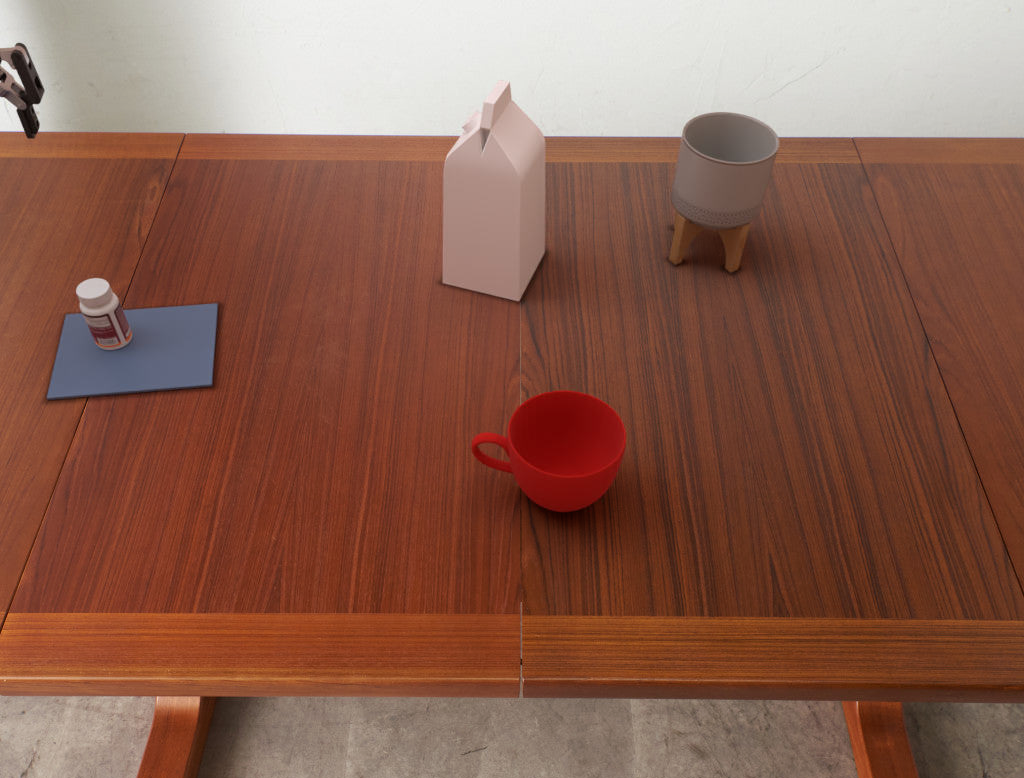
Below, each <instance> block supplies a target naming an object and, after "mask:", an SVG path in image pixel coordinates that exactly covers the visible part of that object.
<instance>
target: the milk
mask: <svg viewBox="0 0 1024 778" xmlns="http://www.w3.org/2000/svg"><path fill="white" fill-rule="evenodd" d="M461 128H462V129H463V132H462V133H461V135H460V136H459V138H458V139H457V140H456V141H455V143H454V144H453V146H452V147H451V149H450V150H449V151H448V153H447V154H446V157H445V160H444V163H443V170H442V171H443V172H442V174H443V175H442V284H445V285H448V286H453V287H456V288H460V289H465V290H470V291H473V292H478V293H482V294H485V295H490V296H494V297H498V298H503V299H507V300H511V301H515V302H520V301H521V298H522V297H523V295H524V293H525V291H526V290H527V287H528V285H529V284H530V281H531V280H532V278H533V277H534V274H535V272H536V270H537V268H538V266H539V264H540V263H541V261H542V259H543V257H544V255H545V253H546V250H545V249H546V147H547V146H546V145H547V144H546V139H545V135H544V133H543V132H542V130H541V129H540V127H538V125H537V124H536V123H535V122H534V121H533V120H532V119H531V118H530V117H529V116H528V115H527V113H525V112H524V110H523V109H522V108H521V107H520V106H519V105H518V104H517V103H516V102H515V101H514V100H512V89H511V81H506V80H501V79H499V80H498V81H497V83H496V84H495V86H494V87H493V89H492V90H491V91H490V93H489V94H488V96H486V98H485V100H484V101H483V105H482V110H481V112H480V111H479V110H476V111H475V112H474V113H473V114H472V115H471V116H469V117H468V119H466V121H465V122H464V123H463V124H462V126H461Z"/></svg>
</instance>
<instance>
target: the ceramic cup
mask: <svg viewBox="0 0 1024 778" xmlns="http://www.w3.org/2000/svg"><path fill="white" fill-rule="evenodd" d="M486 443H487V444H495V445H498V446H499V447H500V448H502V449H503V451H505V453H506V455H507V457H508V458H509V461H505V460H501V459H498V458H495V457H493V456H490V455H488V454H486V453H484V452H483V451H482V450H481V449H480V448H479V445H481V444H486ZM626 446H627V431H626V427H625V424H624V422H623V420H622V418H621V417H620V415H619V414H618V413H617V411H616V410H615V409H614V408H613V407H611V406H610V405H609V404H608V403H607V402H605V401H604V400H601V399H600V398H599V397H596V396H593V395H592V394H588V393H586V392H585V393H584V392H581V391H577V390H576V391H575V390H567V389H565V390H564V389H563V390H552V391H546V392H542V393H540V394H537V395H536V394H535V395H534V396H532V397H530V398H527V399H526V400H525V401H524V402H523V403H521V404H519V406H518V407H517V408H516V409H515V411H514V412H513V413H512V414H511V417H510V419H509V421H508V426H507V436H504V435H502V434H499V433H494V432H488V431H487V432H486V431H485V432H480V433H478V434H477V435H475V436H474V437H473V439H472V440H471V449H470V450H471V452H472V455H473V456H474V458H475V459H476V460H477V461H478V462H479V463H481V464H483V465H484V466H486V467H488V468H491V469H493V470H497V471H500V472H504V473H507V474H513V477H514V479H515V481H516V483H517V484H518V486H519V488H520V490H521V491H522V492H523V493H524V494H525V496H527V498H528V499H529V500H530V501H532V502H533V503H535V504H536V505H538V506H539V507H541V508H544V509H546V510H549V511H553V512H556V513H569V512H575V511H579V510H583V509H584V508H587V507H589V506H590V505H592V504H594V503H596V502H597V501H598V500H599V499H601V497H603V496H604V495H605V494H606V492H607V491H608V490H609V488H610V487H611V486H612V484H613V482H614V481H615V479H616V477H617V474H618V472H619V470H620V467H621V464H622V461H623V459H624V455H625V451H626Z"/></svg>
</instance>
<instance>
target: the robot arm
mask: <svg viewBox="0 0 1024 778" xmlns="http://www.w3.org/2000/svg"><path fill="white" fill-rule="evenodd" d="M3 61H4V62H6V63H7V64H8V66H9V67H10V68H11V69H12V70H13V71H14V70H16V73H17V75H18V77H19V79H20V82H21V84H22V85H21V84H20V83H18V81H16V80H15V77H14V76H13V75H12V74H11V73H10V72H9V71H7V70H6V69H5V68H4V66H3V67H2V66H1V65H2V62H3ZM45 92H46V91H45V87H44V84H43V83H42V80H41V78H40V75H39V73H38V71H37V68H36V66H35V64H34V62H33V59H32V56H31V55H30V53H29V49H28V48H27V46H26V45H25V44H24V43H22V42H16V43H15V45H14V46H13V47H11V46H10V47H0V98H4V99H5V100H7V102H9V103H10V104H12V105H13V106H14V107H15V108H16V110H15V111H16V114H17V116H18V118H19V121H20V123H21V126H22V129H23V131H24V134H25V136H26V138H27V139H28V140H31V139H33V140H34V139H36V137H37V134H38V132H39V130H40V127H41V126H40V124H41V123H40V121H39V118H38V116H37V113H36V110H35V108H34V105H40V104H41V102H42V99H43V98H44V94H45Z"/></svg>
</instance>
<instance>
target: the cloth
mask: <svg viewBox="0 0 1024 778" xmlns="http://www.w3.org/2000/svg"><path fill="white" fill-rule="evenodd" d="M123 312H124V314H125V317H126V319H127V322H128V324H129V326H130V329H131V332H132V339H131V341H130V342H129V343H128V344H127V345H126V346H124V347H122V348H119V349H116V350H104V349H101V348H100V347H98V346H97V344H96V343H95V341H94V339H93V336H92V334H91V332H90V330H89V328H88V325H87V323H86V321H85V319H84V317H83V314H82V312H80V313H66V314H65V316H64V321H63V326H62V330H61V334H60V338H59V342H58V347H57V351H56V356H55V360H54V364H53V368H52V373H51V377H50V382H49V386H48V389H47V390H48V391H47V394H46V399H47V401H55V400H66V399H67V400H68V399H78V398H91V397H92V398H93V397H102V396H115V395H116V396H117V395H126V394H138V393H139V394H140V393H150V392H151V393H153V392H162V391H164V392H165V391H175V390H188V389H199V388H210V387H211V388H212V387H213V384H214V383H213V381H214V369H215V368H214V367H215V355H216V343H217V329H218V326H217V325H218V317H219V316H218V315H219V303H217V302H216V303H215V302H214V303H204V304H202V303H201V304H188V305H177V306H175V305H174V306H161V307H151V308H150V307H148V308H134V309H133V308H132V309H123Z"/></svg>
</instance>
